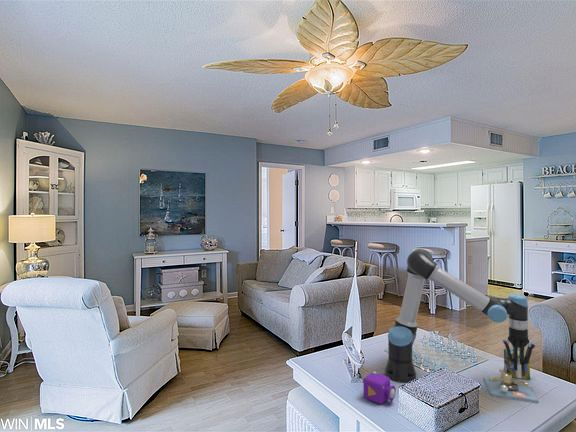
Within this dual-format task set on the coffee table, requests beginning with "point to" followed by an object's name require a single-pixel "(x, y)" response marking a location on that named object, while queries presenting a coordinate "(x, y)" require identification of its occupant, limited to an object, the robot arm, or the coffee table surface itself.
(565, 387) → the coffee table surface
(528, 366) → the chalk box
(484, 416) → the coffee table surface
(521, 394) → the board
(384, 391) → the toy camera
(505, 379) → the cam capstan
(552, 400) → the coffee table surface
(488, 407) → the coffee table surface
